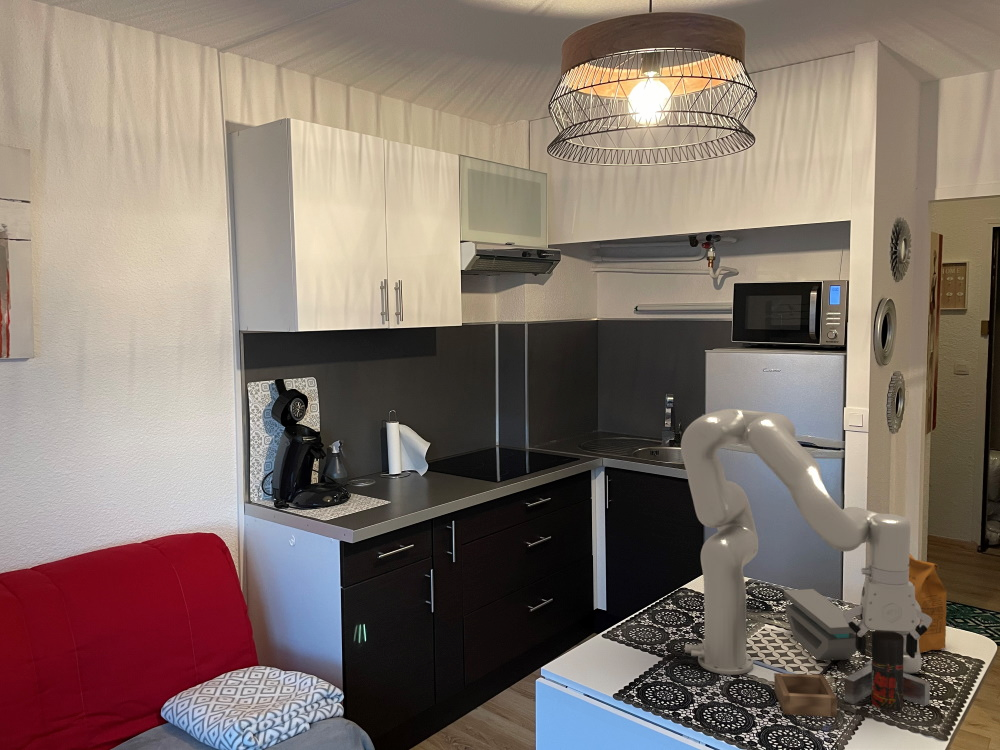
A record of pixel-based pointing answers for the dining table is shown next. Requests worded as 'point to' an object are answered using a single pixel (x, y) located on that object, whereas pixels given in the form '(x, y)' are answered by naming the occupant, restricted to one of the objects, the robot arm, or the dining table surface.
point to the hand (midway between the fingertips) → (885, 653)
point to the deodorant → (887, 670)
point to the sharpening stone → (819, 625)
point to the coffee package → (929, 602)
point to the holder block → (805, 695)
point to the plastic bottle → (915, 663)
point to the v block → (861, 687)
